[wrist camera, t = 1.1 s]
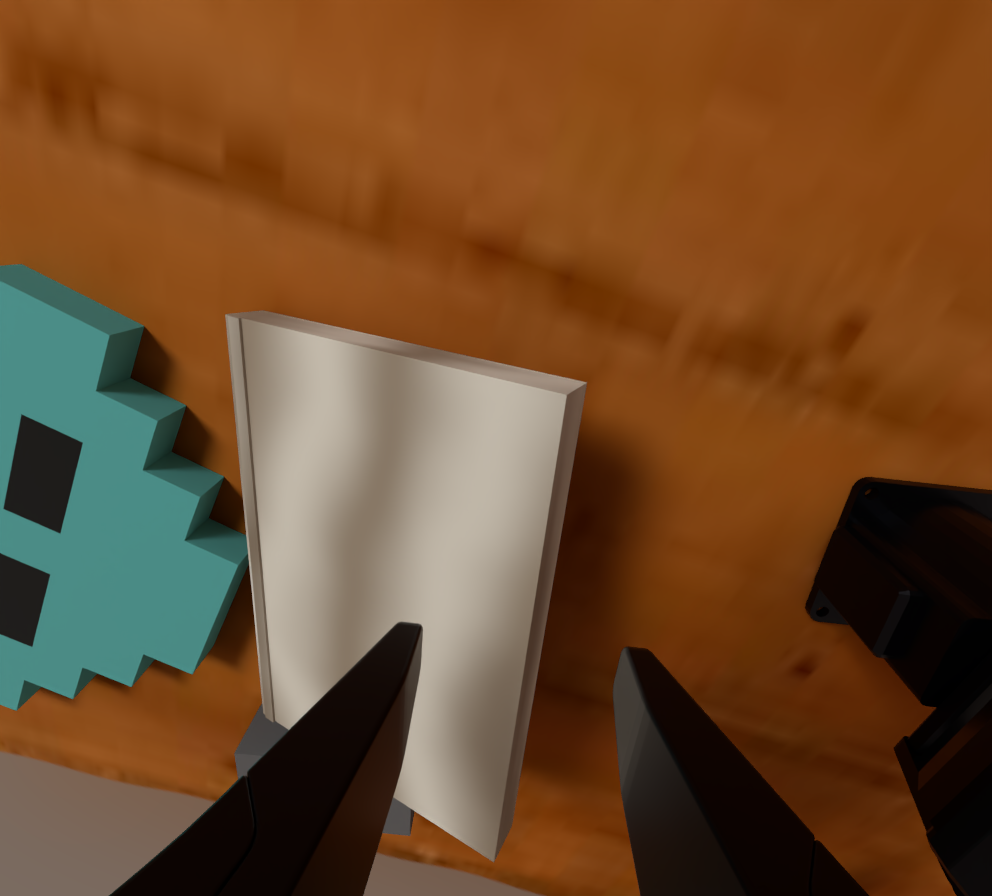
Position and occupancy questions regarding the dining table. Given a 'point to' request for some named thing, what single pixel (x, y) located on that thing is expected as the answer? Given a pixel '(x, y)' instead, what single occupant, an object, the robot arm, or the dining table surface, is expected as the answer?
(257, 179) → the dining table surface
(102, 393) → the alien figure
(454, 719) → the white flat slab
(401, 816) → the block
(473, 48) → the dining table surface
